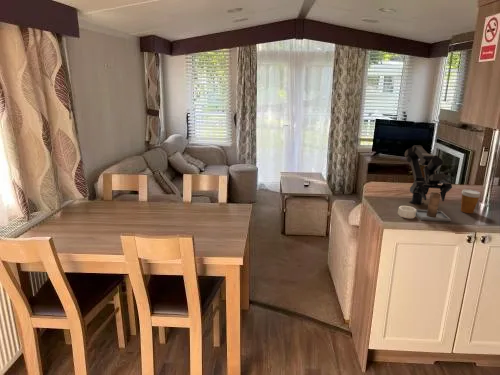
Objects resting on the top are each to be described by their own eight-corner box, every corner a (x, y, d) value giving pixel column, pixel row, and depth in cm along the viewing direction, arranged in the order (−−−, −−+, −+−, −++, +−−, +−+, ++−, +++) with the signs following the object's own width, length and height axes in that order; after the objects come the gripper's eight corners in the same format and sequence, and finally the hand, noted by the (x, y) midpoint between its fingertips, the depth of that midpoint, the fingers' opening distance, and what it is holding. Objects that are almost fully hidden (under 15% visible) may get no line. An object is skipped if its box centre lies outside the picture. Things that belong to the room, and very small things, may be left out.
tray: (413, 211, 209) (413, 209, 209) (440, 213, 208) (441, 210, 208) (420, 220, 198) (421, 217, 197) (450, 221, 197) (450, 219, 196)
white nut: (401, 211, 209) (402, 204, 208) (416, 215, 204) (418, 208, 203) (395, 215, 203) (397, 208, 202) (411, 219, 198) (413, 212, 197)
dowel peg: (425, 213, 205) (429, 192, 202) (434, 214, 205) (439, 192, 201) (427, 216, 201) (432, 194, 197) (437, 217, 200) (441, 195, 196)
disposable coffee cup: (471, 209, 217) (476, 189, 214) (479, 215, 208) (484, 194, 205) (454, 208, 218) (458, 188, 215) (461, 213, 209) (466, 193, 206)
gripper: (418, 166, 201) (422, 192, 193) (454, 168, 199) (459, 195, 192) (411, 177, 210) (414, 202, 203) (445, 178, 209) (449, 204, 202)
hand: (434, 200), depth 200 cm, fingers open, 9 cm apart
